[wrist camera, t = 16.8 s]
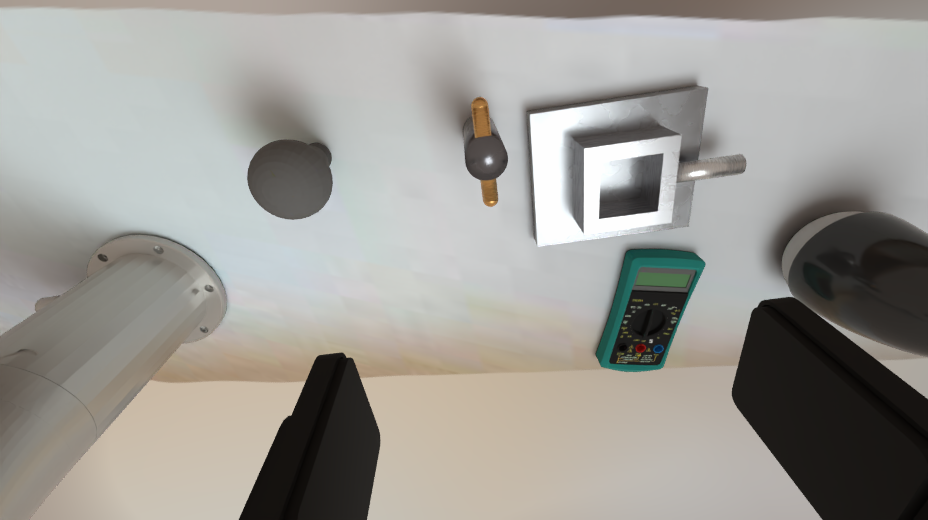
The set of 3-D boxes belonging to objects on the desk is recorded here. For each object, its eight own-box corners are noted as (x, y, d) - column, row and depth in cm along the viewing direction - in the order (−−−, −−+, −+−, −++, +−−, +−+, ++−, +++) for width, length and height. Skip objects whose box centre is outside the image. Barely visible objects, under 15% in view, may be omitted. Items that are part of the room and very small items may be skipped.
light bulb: (351, 190, 37) (319, 238, 28) (288, 178, 36) (235, 224, 27) (355, 128, 34) (321, 160, 25) (287, 114, 34) (228, 142, 25)
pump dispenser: (765, 302, 44) (901, 417, 31) (758, 221, 39) (914, 317, 26) (868, 268, 42) (1059, 375, 29) (873, 179, 37) (1105, 259, 24)
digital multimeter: (592, 357, 48) (600, 375, 45) (625, 245, 41) (636, 259, 38) (652, 358, 48) (663, 377, 46) (695, 248, 41) (711, 262, 39)
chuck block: (534, 239, 40) (544, 264, 35) (526, 111, 34) (537, 122, 29) (706, 215, 39) (738, 238, 34) (728, 81, 33) (770, 87, 29)
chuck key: (456, 86, 33) (457, 103, 25) (491, 81, 33) (502, 96, 25) (469, 176, 36) (472, 215, 29) (500, 171, 36) (512, 209, 28)
